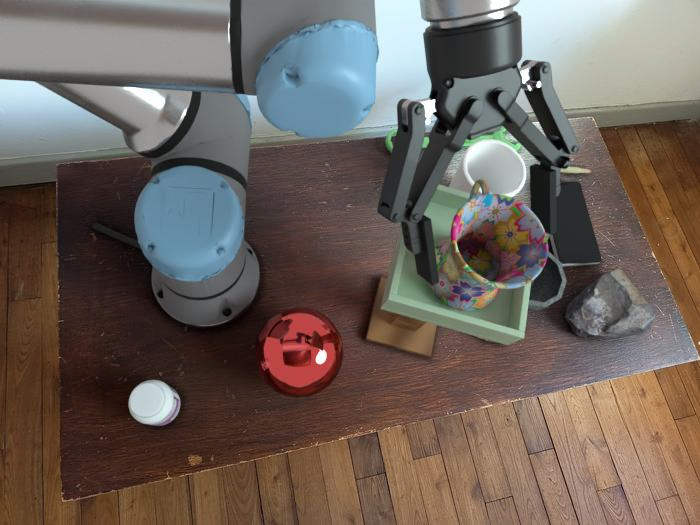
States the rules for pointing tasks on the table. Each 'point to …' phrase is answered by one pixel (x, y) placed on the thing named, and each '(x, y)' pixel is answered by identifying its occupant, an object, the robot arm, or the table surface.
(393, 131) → the wrench
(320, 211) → the table surface
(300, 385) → the ball
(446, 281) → the mug
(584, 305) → the rock
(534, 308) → the mortar and pestle
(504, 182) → the cup
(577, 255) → the smartphone
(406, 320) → the stand
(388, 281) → the tray
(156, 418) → the pill bottle
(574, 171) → the bullet
